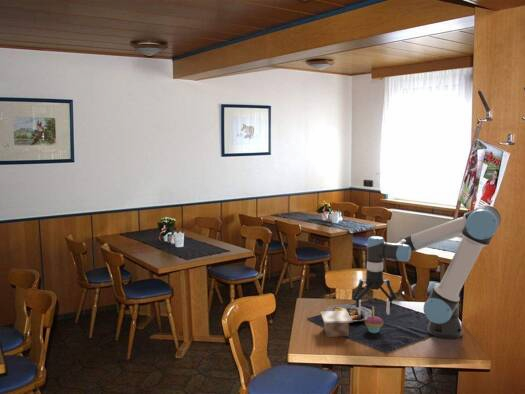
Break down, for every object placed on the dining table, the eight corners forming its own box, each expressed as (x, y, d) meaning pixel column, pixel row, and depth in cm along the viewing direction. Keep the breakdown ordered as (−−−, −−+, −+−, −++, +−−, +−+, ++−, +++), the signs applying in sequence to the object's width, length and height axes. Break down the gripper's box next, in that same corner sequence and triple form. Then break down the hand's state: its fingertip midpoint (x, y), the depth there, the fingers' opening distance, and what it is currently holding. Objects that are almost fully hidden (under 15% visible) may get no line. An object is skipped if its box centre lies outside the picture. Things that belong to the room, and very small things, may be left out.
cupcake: (362, 328, 249) (362, 304, 248) (379, 327, 250) (380, 303, 249) (368, 335, 241) (368, 310, 239) (386, 334, 242) (386, 309, 240)
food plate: (369, 326, 251) (369, 319, 251) (321, 323, 257) (321, 316, 257) (373, 310, 275) (373, 304, 275) (329, 307, 281) (329, 301, 281)
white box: (347, 326, 252) (347, 310, 251) (352, 337, 239) (352, 320, 238) (320, 327, 251) (320, 311, 250) (324, 338, 238) (324, 321, 237)
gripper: (399, 267, 246) (397, 310, 249) (346, 267, 245) (345, 311, 248) (403, 271, 238) (402, 316, 241) (349, 272, 238) (348, 316, 241)
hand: (373, 313), depth 245 cm, fingers open, 13 cm apart
